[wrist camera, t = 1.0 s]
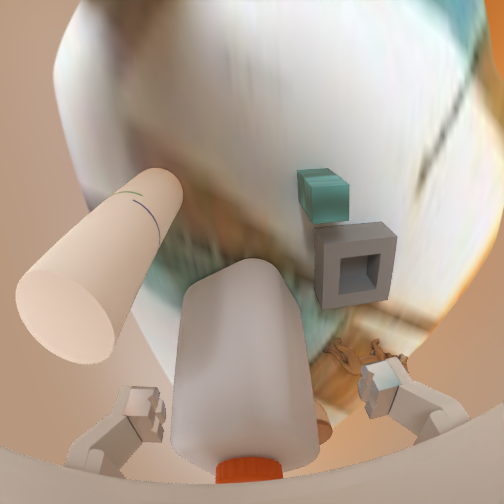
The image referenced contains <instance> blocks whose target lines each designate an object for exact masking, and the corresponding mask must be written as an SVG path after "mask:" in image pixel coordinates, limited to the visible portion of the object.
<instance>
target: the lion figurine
mask: <svg viewBox="0 0 504 504" xmlns="http://www.w3.org/2000/svg"><path fill="white" fill-rule="evenodd" d="M341 343H342V341H341V339H336V340H335V342H334V344H335V346H336V347H337V349H338V350H340V351H342V354H341V357H342V358H343V359H344V361H343V360H342V359H341V358H340V356H339V355H338V354H337V353H336V352H334V351H333V350H330V349H324V350H323V352H325V353H332V354H334V355H335V357H336V358H337V359H338V361H339V362H340V363H341V365H342V366H343V367H344V368H345V370H346V372H347V373H349V374H351V375H354V376H357V375H361V372H360V371H361V367H362V365H364V364H368V363H372V362H376V361H380V360H385V359H388V358H392V357H397V358H398V359H399V361H400V362H401V364H402V365H403V367H404V368H405V370H406V371H407V373H409V372H408V368H407V364H406V362H407V359H408V357H406V356H404V355H403V354H400V355H399V356H397V355H391V354H390V353H384V352H383V351H382V349H381V348H380V347H379V346H378V344H379V340H378V339H376V340H374V341H373V343H372V346H373V347H374V349H373V350H372V351H371V352H370V354H371V355H366V356H362V357H360V358H358V356H357V355H356V354H355V353H354V352H353V351H352V350H350V349H348V348H346V347H344V346H342V345H340V344H341Z"/></svg>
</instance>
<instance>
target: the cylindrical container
mask: <svg viewBox="0 0 504 504" xmlns="http://www.w3.org/2000/svg"><path fill="white" fill-rule="evenodd" d="M182 202H183V190H182V186H181V184H180V182H179V180H178V179H177V178H176V176H175V175H173V174H172V173H171V172H169V171H168V170H165V169H162V168H150V169H146V170H144V171H142V172H141V173H139V174H138V175H137V176H135V177H134V178H133V179H131V180H130V181H129V182H127V183H126V184H125V185H124V186H122V187H121V188H120V189H118V190H117V191H116V192H115V193H113V194H112V195H111V196H110V197H108V198H107V199H106V200H105V201H104V202H102V203H101V204H100V205H99V206H97V207H96V208H95V209H94V210H93V211H92V212H90V213H89V214H88V215H87V216H86V217H85V218H83V219H82V220H81V221H80V222H79V223H78V224H77V225H75V226H74V227H73V228H72V229H71V230H70V231H69V232H68V233H67V234H65V235H64V236H63V237H62V238H61V239H60V240H59V241H58V242H57V243H56V244H55V245H54V246H53V247H51V248H50V249H49V250H48V251H47V252H46V253H45V254H44V255H43V256H42V257H41V258H40V259H39V260H38V261H37V262H36V263H35V264H34V265H33V266H32V267H31V268H30V269H29V270H28V271H27V272H26V273H25V275H24V276H23V277H22V278H21V279H20V281H19V283H18V285H17V288H16V304H17V308H18V311H19V314H20V316H21V318H22V321H23V322H24V324H25V325H26V327H27V329H28V330H29V332H30V333H31V334H32V335H33V336H34V338H35V339H36V340H37V341H38V342H40V343H41V344H42V345H43V346H44V347H45V348H47V349H48V350H49V351H51V352H52V353H54V354H55V355H57V356H59V357H61V358H63V359H66V360H68V361H71V362H75V363H80V364H95V363H99V362H101V361H103V360H105V359H107V358H108V357H109V355H110V354H111V353H112V351H113V349H114V346H115V344H116V341H117V339H118V337H119V334H120V332H121V329H122V327H123V325H124V322H125V320H126V318H127V315H128V313H129V311H130V309H131V306H132V304H133V302H134V300H135V297H136V295H137V293H138V291H139V289H140V287H141V284H142V282H143V280H144V278H145V276H146V274H147V272H148V270H149V268H150V266H151V263H152V261H153V259H154V257H155V255H156V253H157V251H158V249H159V247H160V245H161V243H162V241H163V239H164V237H165V235H166V233H167V232H168V230H169V228H170V226H171V224H172V222H173V220H174V218H175V216H176V214H177V213H178V211H179V209H180V207H181V204H182Z"/></svg>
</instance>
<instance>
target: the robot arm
mask: <svg viewBox="0 0 504 504" xmlns="http://www.w3.org/2000/svg"><path fill="white" fill-rule="evenodd" d="M360 372H361V374H362V376H361V377H360V378H359V380H358V392H359V396H360V398H361V400H362V401H364V402H366V405H365V409H366V412H367V414H368V416H369V418H370V419H373V418H377V417H381V416H385V415H388V414H389V416H390V417H391V418H393V419H394V420H395V421H397V422H398V423H400V424H401V425H402V426H404V427H405V428H407V429H408V430H410V431H411V432H412V433H414V434H415V435H417V436H418V438H417V439H416V441H415V443H414V444H413V446H411V447H409V448H406V449H403V450H400V451H397V452H394V453H391V454H388V455H385V456H382V457H379V458H376V459H372V460H369V461H365V462H362V463H358V464H354V465H351V466H346V467H342V468H338V469H334V470H329V471H325V472H319V473H314V474H309V475H304V476H298V477H291V478H283V479H276V480H267V481H257V482H245V483H227V484H179V483H178V484H177V483H161V482H149V481H139V480H131V479H126V477H125V476H124V475H123V474H122V473H121V472H120V471H119V470H120V468H121V467H122V466H123V465H124V464H125V463H126V462H127V460H128V459H129V458H130V457H131V455H133V453H134V452H135V451H136V450H137V449H138V448H139V447H140V445H141V444H142V442H158V443H159V442H160V443H162V438H163V432H164V430H163V427H162V424H163V423H164V422H165V419H166V408H165V404H164V402H163V400H161V399H160V398H159V396H160V392H159V390H158V388H157V387H137V386H122V387H121V388H120V389H119V392H118V395H117V398H116V401H115V404H114V407H113V410H112V413H111V415H107V416H106V417H104V418H103V419H102V420H101V421H99V422H98V423H97V424H96V425H94V426H93V427H92V428H91V429H90V430H88V431H87V432H86V433H85V434H83V435H82V436H81V437H79V438H78V439H77V440H76V441H75V442H73V443H72V444H71V446H70V449H69V452H68V455H67V458H66V461H65V463H64V466H59V465H56V464H52V463H48V462H45V461H42V460H39V459H36V458H32V457H29V456H26V455H24V454H21V453H18V452H15V451H12V450H10V449H8V448H5V447H1V446H0V504H504V402H502V403H500V404H499V405H497V406H495V407H494V408H492V409H490V410H488V411H487V412H485V413H483V414H481V415H479V416H478V417H476V418H474V419H472V420H471V418H470V417H469V416H468V414H467V412H466V411H465V409H464V408H463V407H462V405H461V404H460V402H459V401H458V400H456V399H454V398H451V397H449V396H447V395H445V394H443V393H441V392H439V391H437V390H434V389H432V388H430V387H428V386H426V385H424V384H422V383H420V382H418V381H414V382H413V380H412V379H411V377H410V376H409V374H408V373H407V371H406V370H405V368H404V367H403V365H402V364H401V362H400V361H399V359H398V358H397V357H392V358H388V359H385V360H380V361H376V362H372V363H368V364H364V365H362V367H361V371H360Z"/></svg>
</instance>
